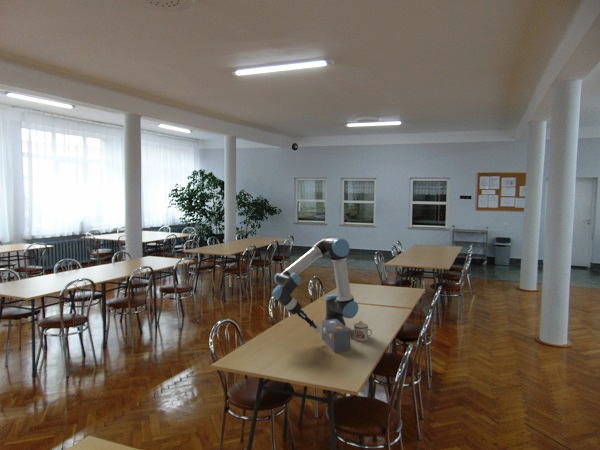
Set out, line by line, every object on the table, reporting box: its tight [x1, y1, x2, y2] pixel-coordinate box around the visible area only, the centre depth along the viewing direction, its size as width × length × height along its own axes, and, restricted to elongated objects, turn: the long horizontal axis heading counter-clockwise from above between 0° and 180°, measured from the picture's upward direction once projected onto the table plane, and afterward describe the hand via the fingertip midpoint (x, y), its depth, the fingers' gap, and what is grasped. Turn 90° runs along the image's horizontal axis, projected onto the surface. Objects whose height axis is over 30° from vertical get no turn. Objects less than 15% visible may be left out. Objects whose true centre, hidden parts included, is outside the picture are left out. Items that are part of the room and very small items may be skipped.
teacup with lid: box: [353, 320, 373, 342], centre depth 265 cm, size 12×9×12 cm
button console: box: [321, 319, 351, 353], centre depth 257 cm, size 10×24×12 cm, turn 14°
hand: (319, 330), depth 260 cm, fingers closed
